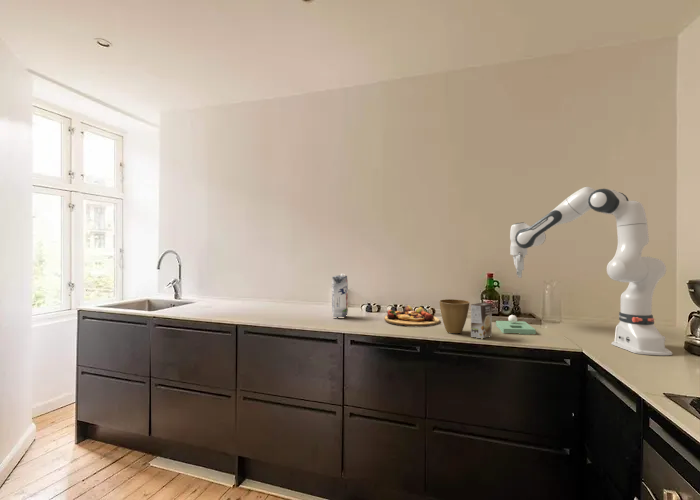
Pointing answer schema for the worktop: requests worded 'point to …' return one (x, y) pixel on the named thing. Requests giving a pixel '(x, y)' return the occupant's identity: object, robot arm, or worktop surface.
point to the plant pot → (454, 314)
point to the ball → (512, 318)
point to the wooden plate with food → (411, 317)
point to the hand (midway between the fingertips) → (519, 276)
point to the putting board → (515, 327)
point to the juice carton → (339, 296)
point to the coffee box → (481, 320)
